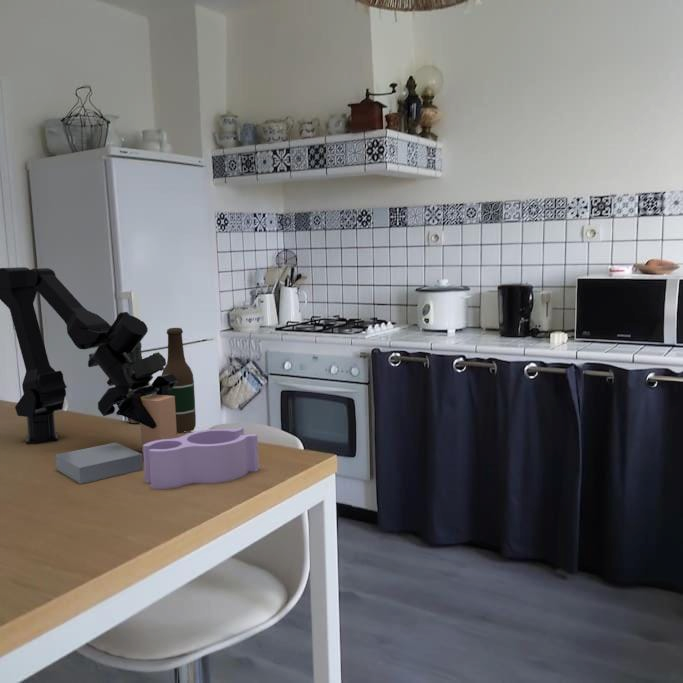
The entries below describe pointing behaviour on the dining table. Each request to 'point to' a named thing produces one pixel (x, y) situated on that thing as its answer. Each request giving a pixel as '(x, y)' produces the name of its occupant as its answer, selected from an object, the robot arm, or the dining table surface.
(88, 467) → the plate
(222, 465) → the clip
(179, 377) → the beer bottle
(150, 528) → the dining table surface
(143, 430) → the tan block
